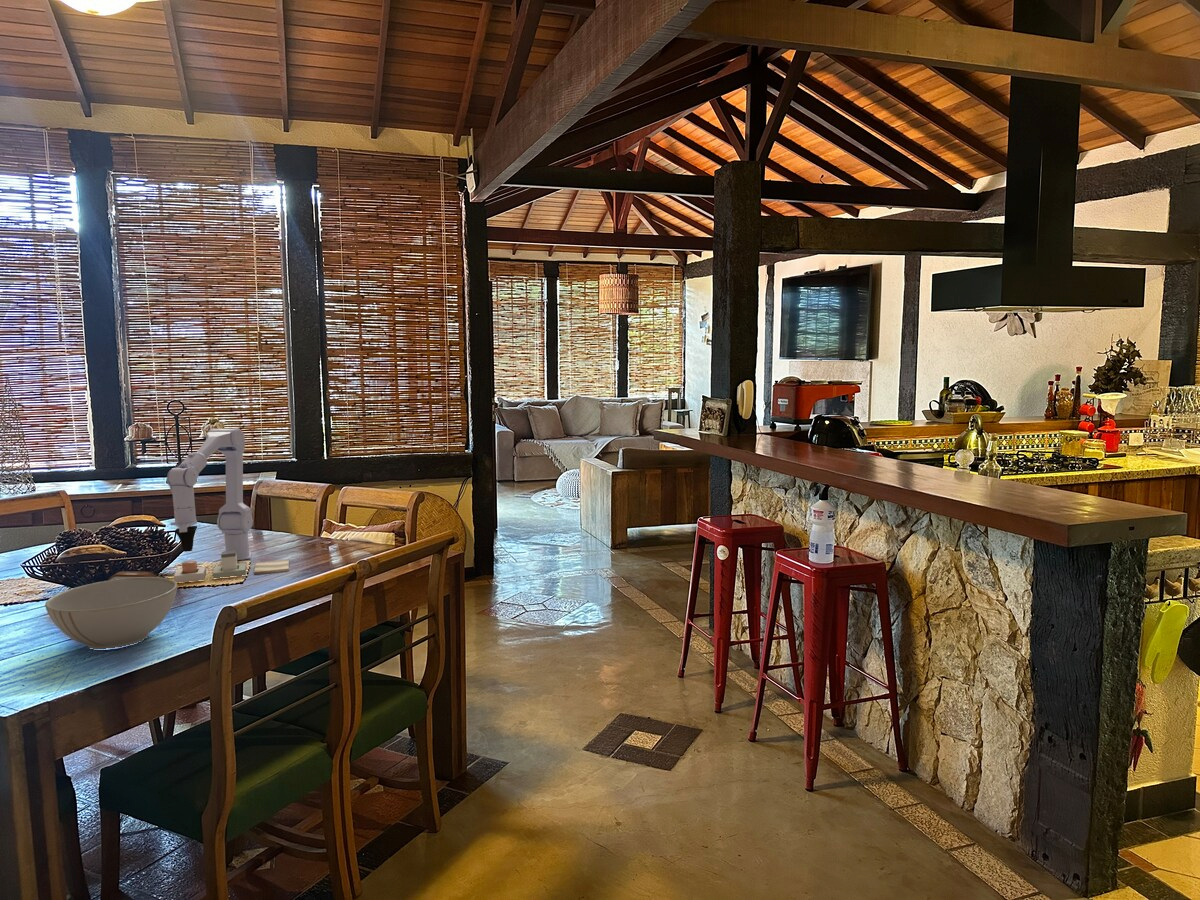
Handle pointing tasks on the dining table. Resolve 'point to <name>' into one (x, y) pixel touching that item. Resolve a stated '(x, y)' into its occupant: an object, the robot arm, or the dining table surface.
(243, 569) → the socket
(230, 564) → the cartridge
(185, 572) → the plunger button
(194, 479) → the robot arm
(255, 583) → the dining table surface
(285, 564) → the birch board
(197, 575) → the plunger housing
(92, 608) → the decorative bowl
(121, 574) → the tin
